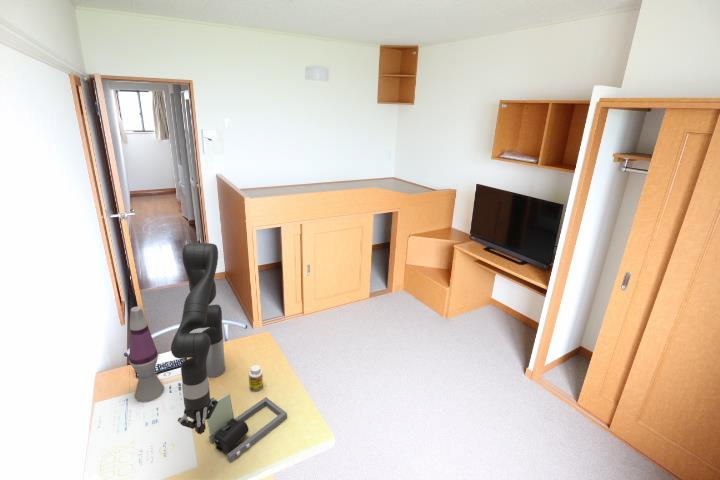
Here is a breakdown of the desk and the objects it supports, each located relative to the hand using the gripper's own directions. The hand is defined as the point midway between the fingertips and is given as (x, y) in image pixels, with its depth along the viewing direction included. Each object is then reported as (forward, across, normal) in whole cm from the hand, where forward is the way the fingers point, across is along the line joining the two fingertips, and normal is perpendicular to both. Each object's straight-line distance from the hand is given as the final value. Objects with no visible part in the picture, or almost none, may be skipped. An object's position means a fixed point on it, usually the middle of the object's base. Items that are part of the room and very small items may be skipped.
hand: (200, 431), depth 123 cm
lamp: (+14, -3, -46) cm, 48 cm away
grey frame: (+14, -18, 0) cm, 23 cm away
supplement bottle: (+14, -34, -16) cm, 40 cm away
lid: (+6, -11, -6) cm, 14 cm away
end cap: (+15, -11, 0) cm, 18 cm away
